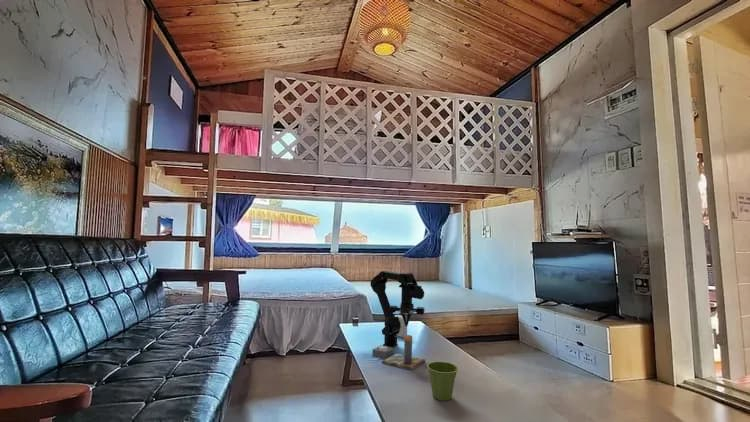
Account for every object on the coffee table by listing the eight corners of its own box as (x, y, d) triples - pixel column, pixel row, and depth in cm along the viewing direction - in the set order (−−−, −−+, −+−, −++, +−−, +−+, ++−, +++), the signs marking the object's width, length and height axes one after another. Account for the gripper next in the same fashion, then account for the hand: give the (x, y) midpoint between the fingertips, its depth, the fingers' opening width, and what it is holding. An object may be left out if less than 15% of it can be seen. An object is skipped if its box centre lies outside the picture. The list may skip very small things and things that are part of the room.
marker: (402, 362, 172) (402, 335, 173) (408, 361, 174) (409, 334, 175) (407, 365, 169) (407, 337, 169) (413, 363, 171) (414, 336, 171)
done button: (377, 353, 186) (377, 347, 187) (381, 351, 190) (382, 345, 190) (384, 355, 184) (384, 349, 184) (389, 353, 188) (389, 347, 188)
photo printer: (391, 334, 225) (391, 314, 226) (396, 333, 228) (396, 313, 229) (403, 338, 217) (403, 317, 218) (408, 337, 220) (408, 316, 221)
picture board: (382, 363, 175) (382, 360, 175) (396, 355, 186) (396, 352, 186) (412, 370, 166) (412, 367, 166) (425, 361, 178) (425, 358, 178)
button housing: (372, 355, 186) (372, 349, 186) (380, 351, 193) (380, 345, 193) (386, 358, 182) (386, 352, 182) (393, 354, 188) (394, 348, 188)
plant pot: (438, 406, 131) (438, 374, 132) (421, 393, 142) (421, 363, 143) (464, 400, 136) (464, 369, 137) (446, 388, 147) (446, 359, 148)
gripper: (386, 298, 189) (386, 328, 188) (422, 300, 185) (422, 331, 184) (390, 294, 200) (390, 323, 199) (424, 296, 196) (424, 326, 195)
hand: (406, 326), depth 194 cm, fingers closed
